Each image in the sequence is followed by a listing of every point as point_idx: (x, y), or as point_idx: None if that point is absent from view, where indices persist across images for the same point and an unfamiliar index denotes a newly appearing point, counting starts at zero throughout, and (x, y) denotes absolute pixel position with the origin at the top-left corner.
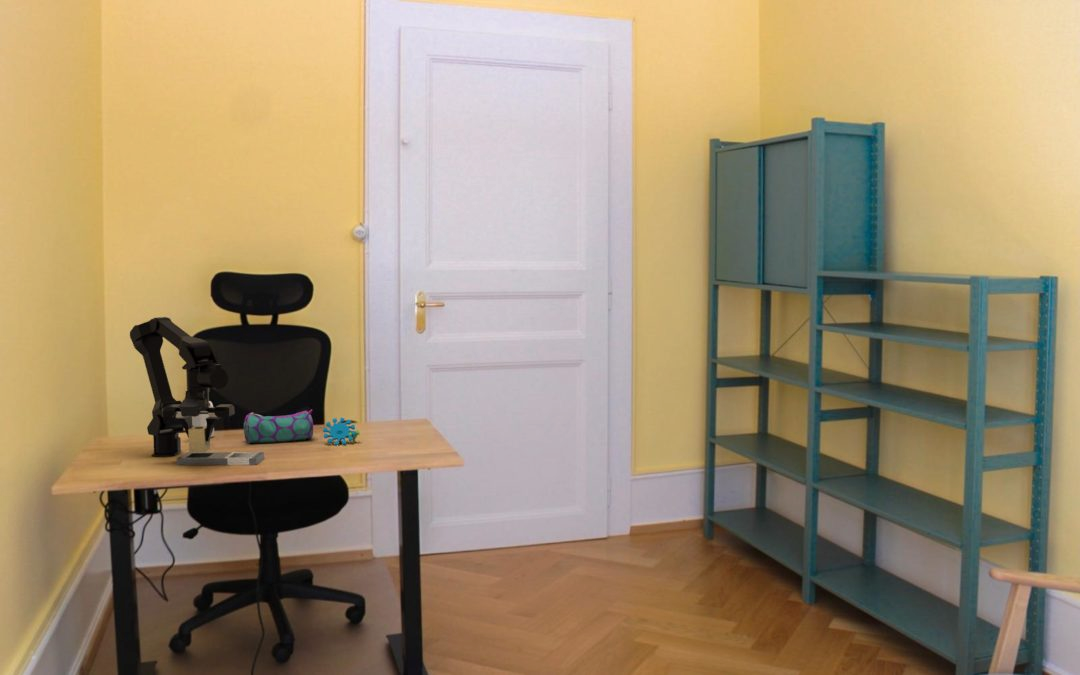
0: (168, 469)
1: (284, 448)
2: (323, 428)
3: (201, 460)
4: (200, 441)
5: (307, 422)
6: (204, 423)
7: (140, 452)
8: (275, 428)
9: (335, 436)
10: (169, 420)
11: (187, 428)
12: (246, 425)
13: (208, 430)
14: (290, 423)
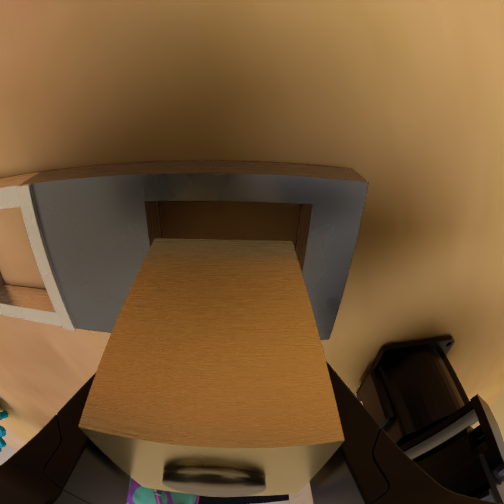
0: (372, 47)
1: (44, 397)
2: (1, 434)
3: (177, 169)
4: (171, 300)
5: None
6: (305, 499)
7: (463, 369)
8: None
9: None
10: (455, 482)
11: (358, 453)
12: (155, 491)
13: (75, 418)
14: None
